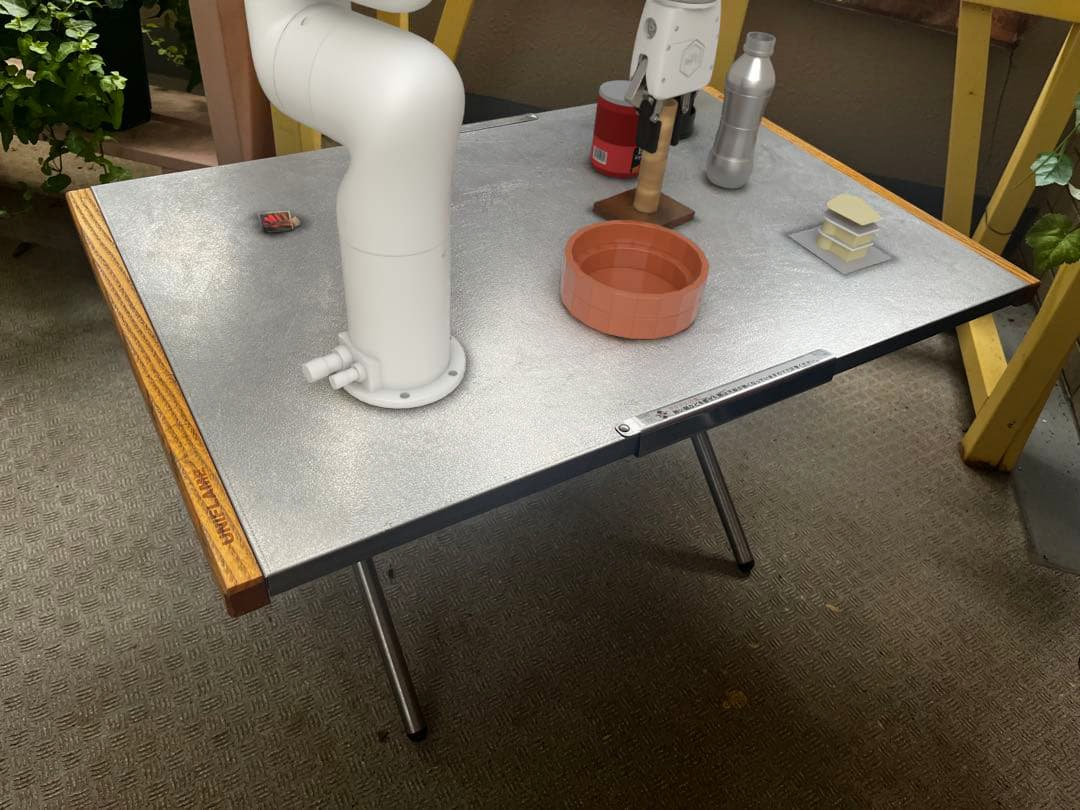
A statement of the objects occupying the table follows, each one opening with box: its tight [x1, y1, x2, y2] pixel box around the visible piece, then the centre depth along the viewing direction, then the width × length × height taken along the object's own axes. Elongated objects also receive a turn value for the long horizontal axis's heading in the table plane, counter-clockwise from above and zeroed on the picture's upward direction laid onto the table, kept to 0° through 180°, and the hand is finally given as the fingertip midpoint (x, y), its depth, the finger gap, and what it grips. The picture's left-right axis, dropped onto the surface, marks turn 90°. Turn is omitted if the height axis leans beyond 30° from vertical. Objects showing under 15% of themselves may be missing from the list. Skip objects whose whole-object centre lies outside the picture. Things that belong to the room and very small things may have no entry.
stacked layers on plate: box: [787, 193, 893, 275], centre depth 102 cm, size 10×9×6 cm
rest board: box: [592, 187, 696, 230], centre depth 105 cm, size 10×9×1 cm
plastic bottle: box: [705, 31, 777, 189], centre depth 108 cm, size 6×7×20 cm
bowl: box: [559, 220, 710, 340], centre depth 89 cm, size 16×16×6 cm
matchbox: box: [256, 210, 302, 234], centre depth 97 cm, size 5×5×1 cm
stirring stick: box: [633, 98, 678, 213], centre depth 100 cm, size 3×3×14 cm
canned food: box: [590, 79, 652, 179], centre depth 112 cm, size 8×8×11 cm
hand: (656, 144), depth 99 cm, fingers closed on stirring stick, 3 cm apart
